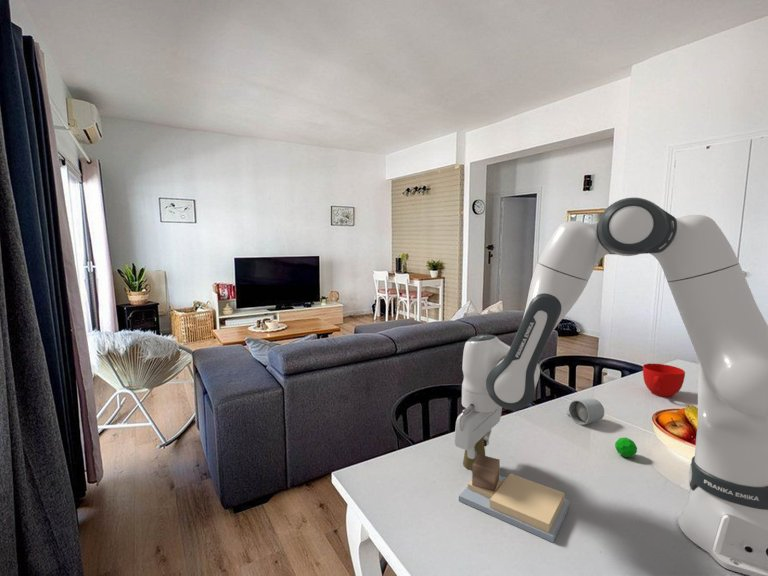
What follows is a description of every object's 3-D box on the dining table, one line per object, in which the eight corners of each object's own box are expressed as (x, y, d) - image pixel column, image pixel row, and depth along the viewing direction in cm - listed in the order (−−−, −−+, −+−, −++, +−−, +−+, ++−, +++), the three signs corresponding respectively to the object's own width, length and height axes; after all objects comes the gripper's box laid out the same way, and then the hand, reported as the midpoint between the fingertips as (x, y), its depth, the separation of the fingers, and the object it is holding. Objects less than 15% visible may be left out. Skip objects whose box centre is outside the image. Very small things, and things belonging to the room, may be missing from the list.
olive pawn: (487, 472, 97) (488, 431, 96) (463, 470, 99) (463, 429, 97) (485, 459, 103) (486, 420, 102) (462, 457, 104) (463, 418, 103)
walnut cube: (499, 479, 91) (499, 459, 90) (494, 491, 86) (495, 470, 86) (477, 473, 93) (478, 454, 92) (472, 485, 88) (472, 464, 88)
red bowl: (633, 396, 146) (635, 370, 145) (646, 385, 157) (648, 361, 156) (675, 406, 136) (678, 379, 135) (686, 394, 148) (688, 368, 146)
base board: (569, 506, 85) (569, 493, 84) (552, 542, 75) (553, 528, 74) (482, 473, 97) (483, 462, 97) (458, 500, 87) (458, 488, 86)
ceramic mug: (605, 423, 124) (607, 400, 123) (588, 429, 120) (589, 405, 120) (577, 411, 133) (578, 389, 133) (559, 416, 130) (560, 393, 129)
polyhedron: (636, 454, 106) (637, 437, 105) (636, 462, 102) (637, 445, 101) (615, 449, 109) (616, 432, 108) (614, 457, 104) (615, 440, 104)
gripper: (473, 416, 87) (471, 474, 89) (506, 389, 103) (505, 439, 105) (448, 409, 91) (447, 464, 93) (484, 384, 107) (483, 432, 109)
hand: (478, 450), depth 99 cm, fingers open, 6 cm apart
